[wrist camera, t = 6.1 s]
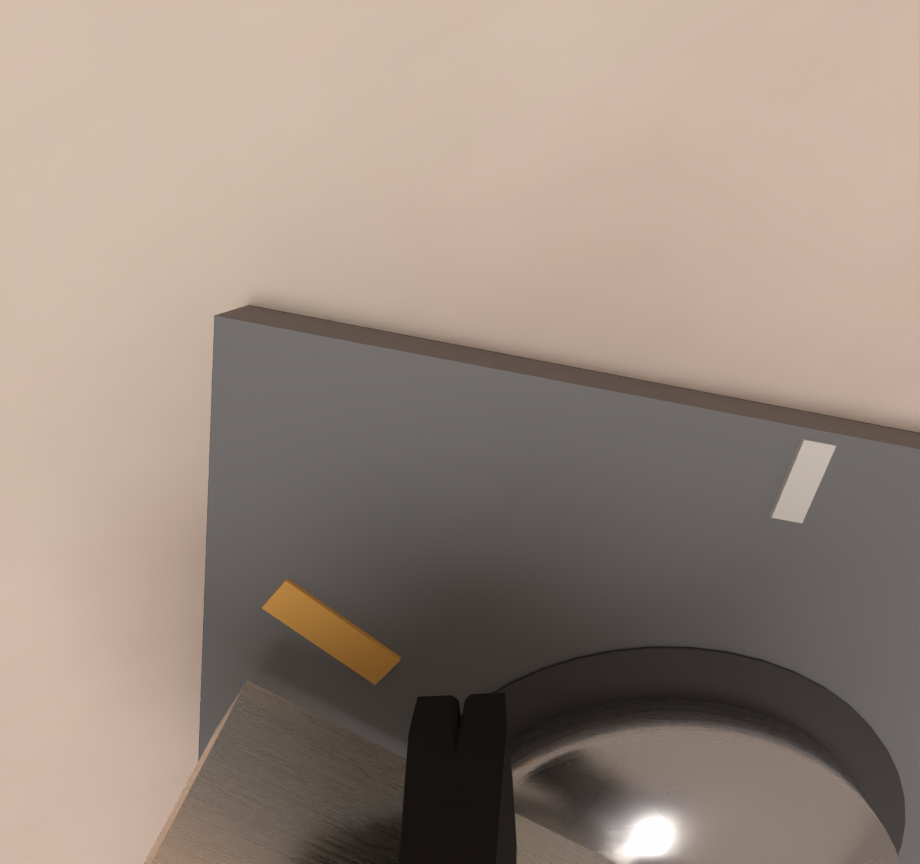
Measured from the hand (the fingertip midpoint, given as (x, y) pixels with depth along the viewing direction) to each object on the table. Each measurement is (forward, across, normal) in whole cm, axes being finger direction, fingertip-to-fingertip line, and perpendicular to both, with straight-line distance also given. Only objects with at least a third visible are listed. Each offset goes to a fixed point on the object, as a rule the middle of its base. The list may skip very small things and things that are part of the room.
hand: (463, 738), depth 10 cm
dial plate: (+4, -4, +6) cm, 8 cm away
